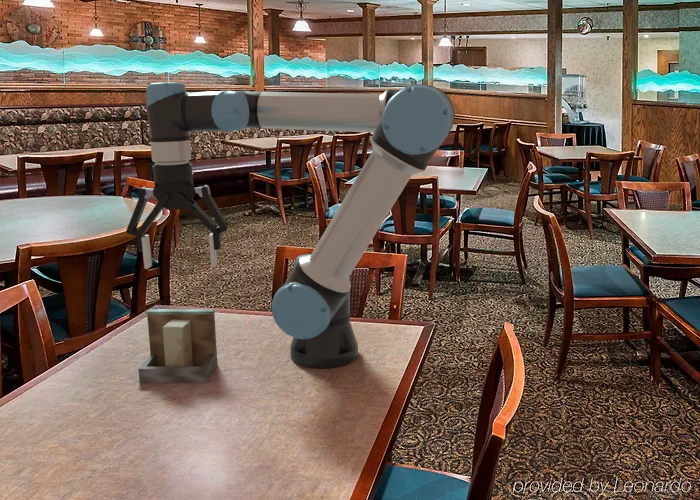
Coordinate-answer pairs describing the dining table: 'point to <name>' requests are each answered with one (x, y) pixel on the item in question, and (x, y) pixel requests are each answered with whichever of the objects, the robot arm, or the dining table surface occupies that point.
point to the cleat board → (201, 347)
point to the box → (178, 344)
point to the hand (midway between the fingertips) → (181, 266)
